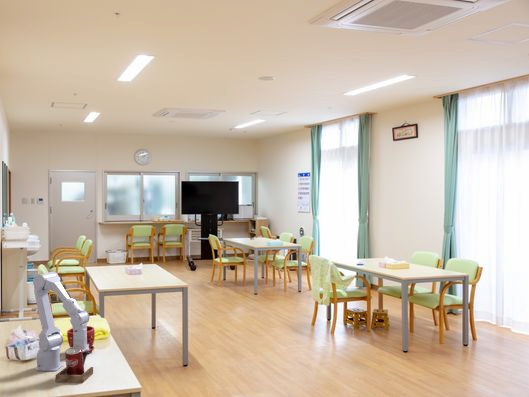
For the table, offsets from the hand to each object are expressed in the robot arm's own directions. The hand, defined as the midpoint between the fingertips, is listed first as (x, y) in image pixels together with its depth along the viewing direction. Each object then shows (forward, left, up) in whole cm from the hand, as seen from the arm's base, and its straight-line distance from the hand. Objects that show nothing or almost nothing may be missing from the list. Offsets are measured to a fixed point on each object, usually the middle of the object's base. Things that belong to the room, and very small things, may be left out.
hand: (80, 368), depth 248 cm
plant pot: (-12, +29, -2) cm, 32 cm away
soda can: (0, -5, -1) cm, 5 cm away
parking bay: (0, -6, -2) cm, 6 cm away
